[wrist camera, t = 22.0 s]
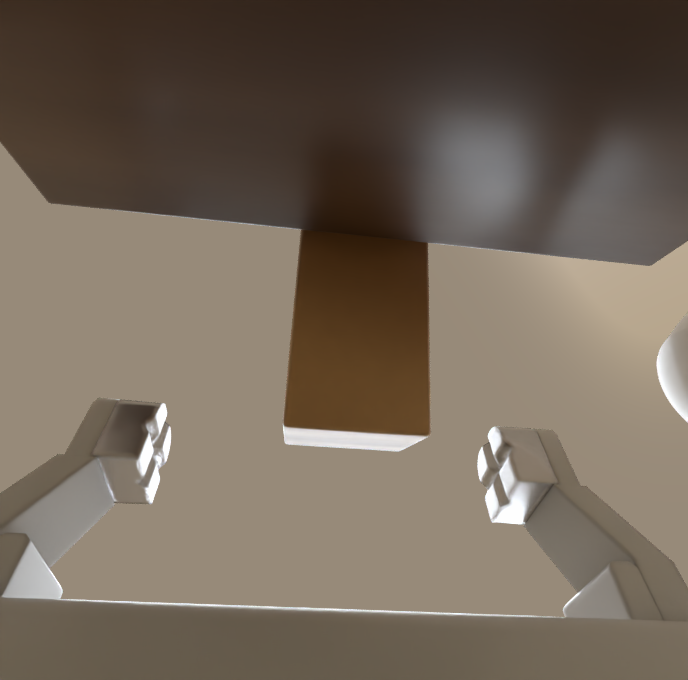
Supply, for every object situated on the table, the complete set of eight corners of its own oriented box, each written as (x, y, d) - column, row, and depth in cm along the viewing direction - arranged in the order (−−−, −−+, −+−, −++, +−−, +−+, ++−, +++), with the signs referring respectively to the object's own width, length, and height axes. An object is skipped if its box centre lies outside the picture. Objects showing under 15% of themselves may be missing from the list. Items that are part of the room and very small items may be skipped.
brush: (186, 410, 6) (221, 443, 10) (534, 434, 7) (455, 458, 10) (305, -297, 14) (302, -141, 17) (470, -264, 14) (436, -118, 17)
